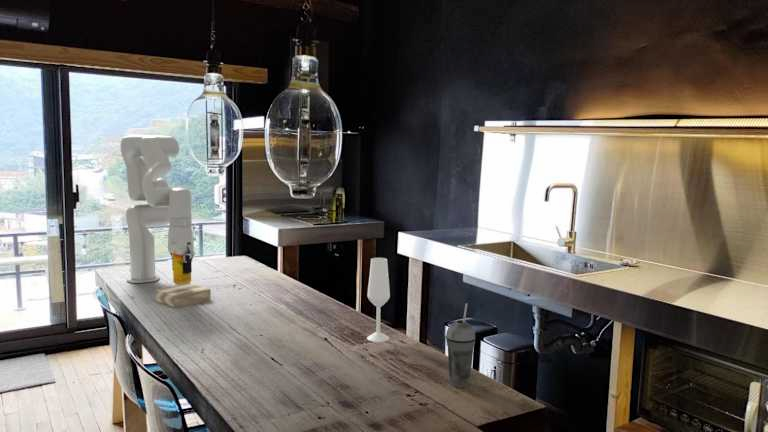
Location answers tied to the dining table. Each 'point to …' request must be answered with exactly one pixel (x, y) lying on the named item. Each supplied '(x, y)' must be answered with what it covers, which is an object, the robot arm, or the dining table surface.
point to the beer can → (179, 270)
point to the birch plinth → (182, 295)
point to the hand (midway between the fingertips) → (182, 271)
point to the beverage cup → (460, 351)
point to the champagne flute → (378, 292)
